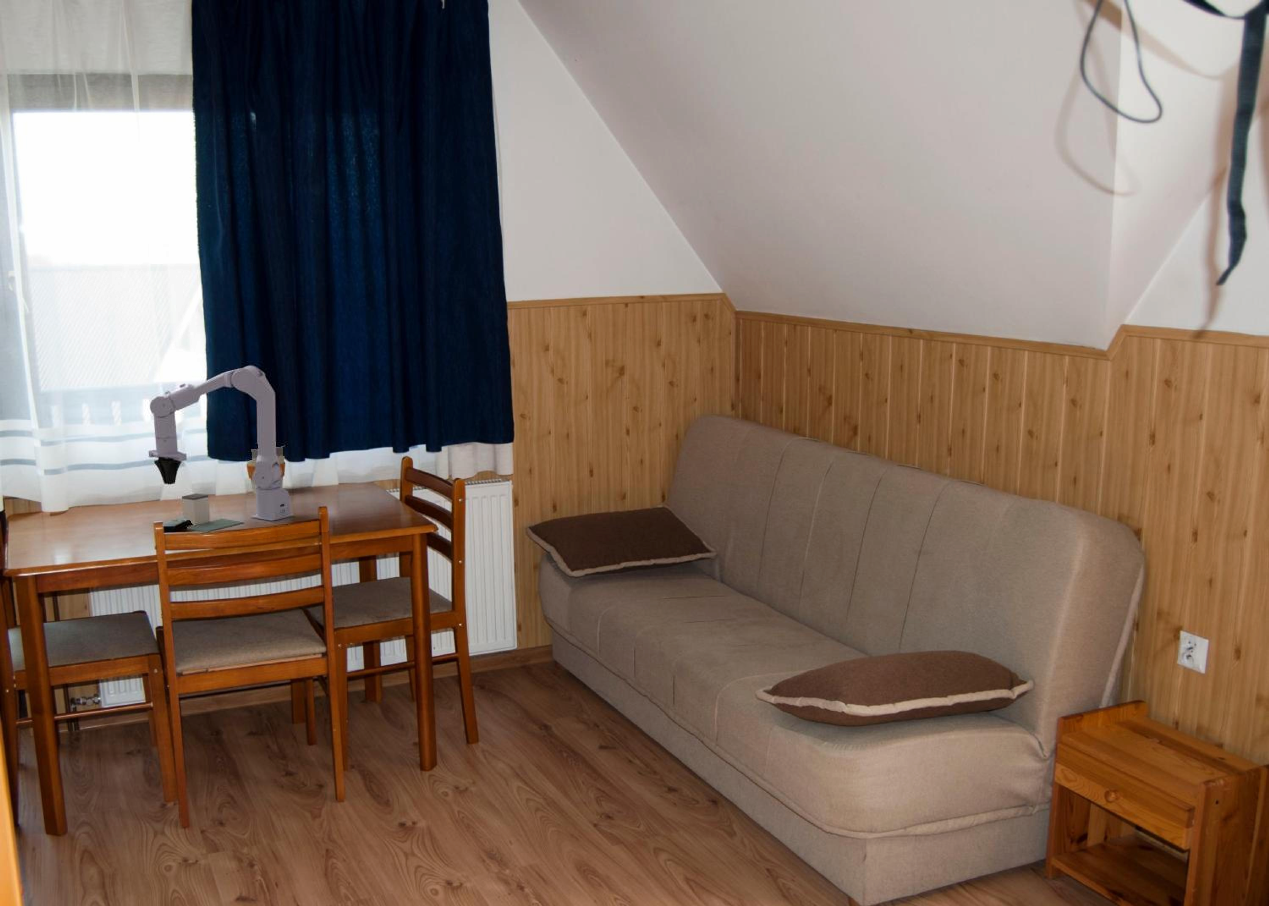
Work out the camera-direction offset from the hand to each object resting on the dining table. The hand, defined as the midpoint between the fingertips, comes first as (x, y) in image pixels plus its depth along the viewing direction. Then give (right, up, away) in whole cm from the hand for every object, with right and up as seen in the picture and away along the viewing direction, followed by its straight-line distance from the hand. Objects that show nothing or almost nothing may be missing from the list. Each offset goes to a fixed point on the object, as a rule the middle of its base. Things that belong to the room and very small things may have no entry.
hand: (169, 483), depth 335 cm
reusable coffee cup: (+16, -4, +40) cm, 43 cm away
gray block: (+9, -11, -4) cm, 15 cm away
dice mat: (+16, -12, -8) cm, 21 cm away
